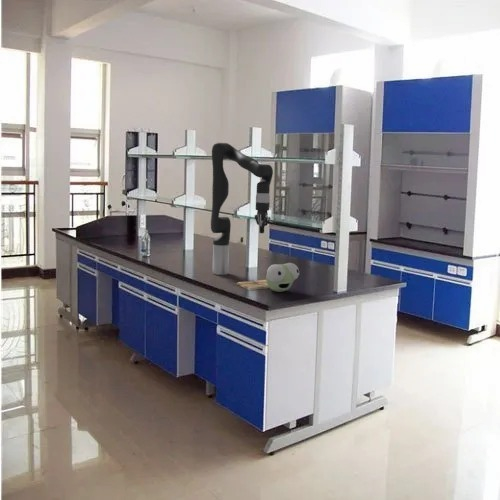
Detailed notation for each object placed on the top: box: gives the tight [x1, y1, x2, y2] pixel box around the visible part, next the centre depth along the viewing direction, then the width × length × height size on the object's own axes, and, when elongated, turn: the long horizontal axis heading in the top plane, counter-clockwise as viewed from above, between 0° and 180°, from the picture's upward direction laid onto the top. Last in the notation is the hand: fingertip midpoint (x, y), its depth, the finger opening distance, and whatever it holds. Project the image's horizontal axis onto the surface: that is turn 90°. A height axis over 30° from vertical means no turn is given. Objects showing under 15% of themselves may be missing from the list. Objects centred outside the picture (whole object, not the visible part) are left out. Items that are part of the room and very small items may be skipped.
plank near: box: [236, 280, 258, 289], centre depth 318 cm, size 8×8×1 cm
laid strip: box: [244, 284, 271, 291], centre depth 314 cm, size 5×18×1 cm, turn 121°
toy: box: [265, 262, 300, 293], centre depth 305 cm, size 18×15×15 cm
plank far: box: [251, 279, 267, 285], centre depth 323 cm, size 8×8×1 cm
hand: (261, 233), depth 326 cm, fingers closed
